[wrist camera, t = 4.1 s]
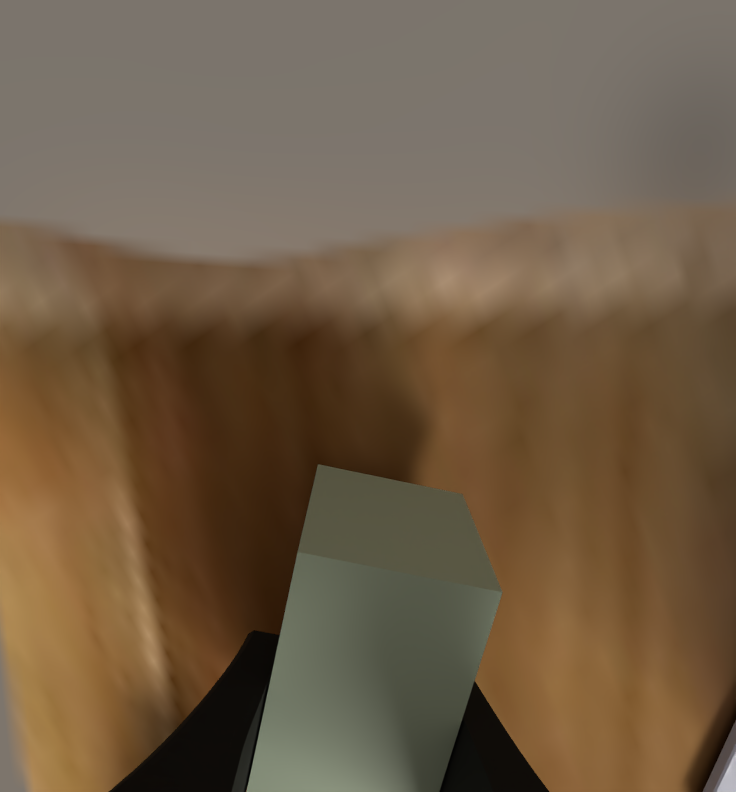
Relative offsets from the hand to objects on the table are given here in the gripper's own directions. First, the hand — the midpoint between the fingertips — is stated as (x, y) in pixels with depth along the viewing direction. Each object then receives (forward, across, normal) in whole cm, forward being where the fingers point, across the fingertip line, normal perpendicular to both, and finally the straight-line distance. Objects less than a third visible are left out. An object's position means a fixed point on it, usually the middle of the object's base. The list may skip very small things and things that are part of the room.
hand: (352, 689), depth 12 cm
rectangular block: (+2, 0, 0) cm, 2 cm away
